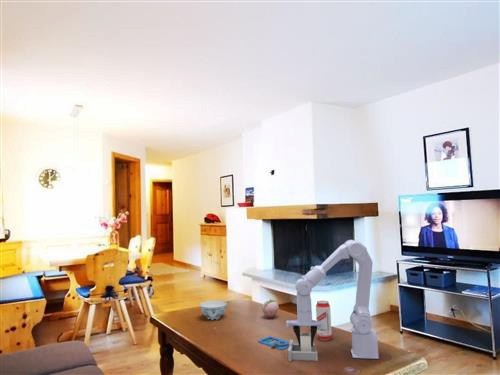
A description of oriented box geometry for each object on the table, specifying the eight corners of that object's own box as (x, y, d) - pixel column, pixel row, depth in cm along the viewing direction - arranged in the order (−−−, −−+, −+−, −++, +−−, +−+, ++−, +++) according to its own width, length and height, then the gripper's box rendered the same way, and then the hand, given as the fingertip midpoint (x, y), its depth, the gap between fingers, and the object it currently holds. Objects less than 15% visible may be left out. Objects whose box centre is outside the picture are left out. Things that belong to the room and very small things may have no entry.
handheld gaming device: (281, 348, 148) (256, 340, 159) (282, 351, 148) (256, 342, 159) (295, 343, 154) (270, 335, 165) (295, 345, 153) (270, 337, 164)
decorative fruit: (268, 314, 201) (267, 296, 202) (281, 316, 196) (280, 297, 197) (259, 319, 193) (258, 299, 194) (272, 321, 189) (271, 301, 189)
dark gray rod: (295, 345, 153) (295, 342, 153) (295, 346, 152) (295, 343, 152) (271, 347, 151) (270, 345, 151) (271, 348, 150) (271, 346, 150)
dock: (317, 350, 146) (316, 340, 147) (317, 362, 134) (316, 351, 135) (290, 349, 148) (290, 339, 148) (288, 361, 136) (287, 350, 137)
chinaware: (196, 316, 202) (196, 302, 202) (221, 312, 208) (221, 299, 209) (204, 323, 188) (204, 308, 189) (231, 319, 195) (231, 304, 195)
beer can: (322, 335, 164) (320, 299, 165) (334, 338, 159) (332, 301, 161) (314, 339, 159) (312, 302, 161) (326, 342, 155) (324, 304, 156)
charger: (311, 348, 144) (310, 332, 144) (311, 352, 140) (310, 335, 140) (301, 348, 144) (300, 332, 145) (300, 351, 140) (300, 335, 141)
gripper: (322, 307, 146) (324, 342, 145) (286, 307, 148) (288, 341, 147) (323, 312, 139) (324, 348, 138) (285, 312, 141) (286, 347, 140)
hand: (305, 345), depth 142 cm, fingers closed on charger, 4 cm apart
